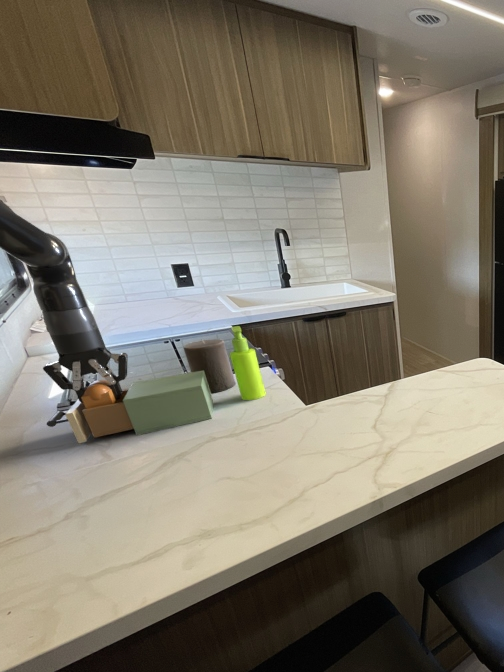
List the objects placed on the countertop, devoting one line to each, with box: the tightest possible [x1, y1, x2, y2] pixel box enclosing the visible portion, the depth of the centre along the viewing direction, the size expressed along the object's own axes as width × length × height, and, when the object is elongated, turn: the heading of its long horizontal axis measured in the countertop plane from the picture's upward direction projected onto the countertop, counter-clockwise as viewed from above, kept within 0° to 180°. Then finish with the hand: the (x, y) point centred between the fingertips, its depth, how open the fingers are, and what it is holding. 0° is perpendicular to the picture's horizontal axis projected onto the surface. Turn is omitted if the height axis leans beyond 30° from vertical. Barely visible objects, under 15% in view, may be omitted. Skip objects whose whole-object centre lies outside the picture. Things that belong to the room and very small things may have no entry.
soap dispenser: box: [229, 325, 267, 401], centre depth 109 cm, size 6×7×20 cm
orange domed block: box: [81, 379, 117, 409], centre depth 92 cm, size 5×8×5 cm, turn 33°
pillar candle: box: [183, 338, 237, 394], centre depth 117 cm, size 10×10×15 cm
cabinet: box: [123, 370, 214, 436], centre depth 100 cm, size 15×13×9 cm
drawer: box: [46, 388, 134, 444], centre depth 94 cm, size 18×12×7 cm
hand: (103, 400), depth 93 cm, fingers closed on orange domed block, 4 cm apart
